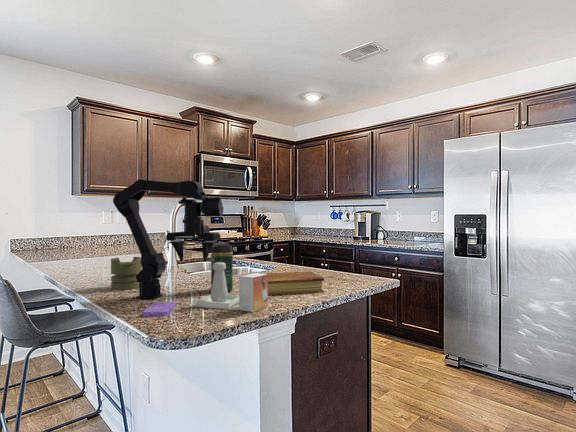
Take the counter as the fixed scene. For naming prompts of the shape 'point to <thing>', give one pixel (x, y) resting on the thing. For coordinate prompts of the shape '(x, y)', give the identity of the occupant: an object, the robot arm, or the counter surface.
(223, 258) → the coffee jar
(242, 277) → the small box
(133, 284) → the piston
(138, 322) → the counter surface
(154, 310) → the sponges
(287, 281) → the diary
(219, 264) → the salt shaker
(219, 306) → the tray
